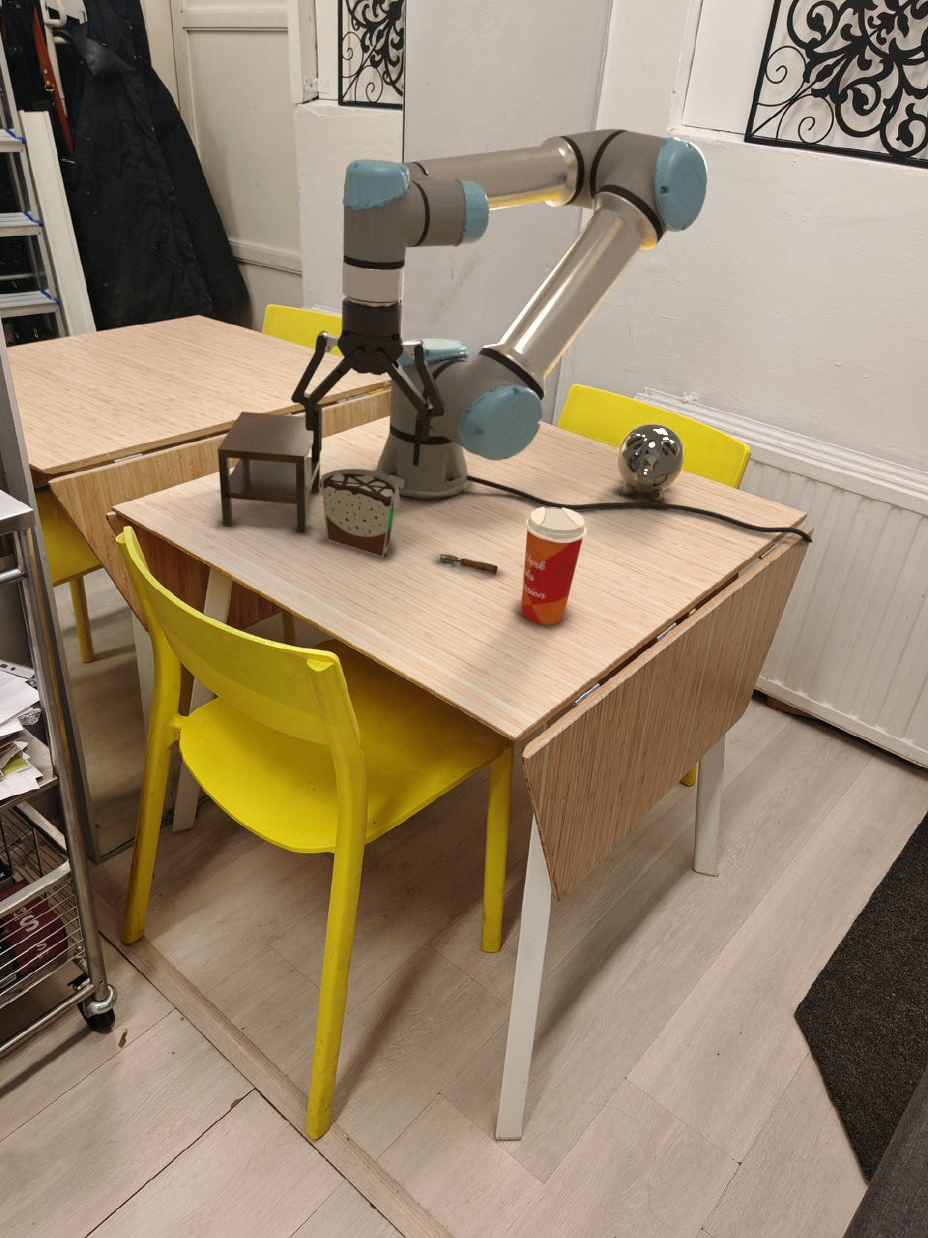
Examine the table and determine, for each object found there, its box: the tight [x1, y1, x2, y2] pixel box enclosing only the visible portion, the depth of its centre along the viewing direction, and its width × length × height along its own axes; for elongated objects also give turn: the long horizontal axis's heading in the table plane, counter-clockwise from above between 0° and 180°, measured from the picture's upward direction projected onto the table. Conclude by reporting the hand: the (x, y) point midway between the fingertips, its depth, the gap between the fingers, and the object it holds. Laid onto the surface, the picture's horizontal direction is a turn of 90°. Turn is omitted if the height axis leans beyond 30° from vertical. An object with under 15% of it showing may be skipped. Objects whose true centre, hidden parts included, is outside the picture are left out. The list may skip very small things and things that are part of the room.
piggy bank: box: [616, 423, 686, 502], centre depth 151 cm, size 11×15×12 cm
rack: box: [217, 411, 321, 534], centre depth 134 cm, size 12×15×12 cm
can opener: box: [437, 553, 499, 574], centre depth 127 cm, size 9×2×1 cm, turn 65°
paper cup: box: [521, 506, 588, 626], centre depth 115 cm, size 8×8×14 cm
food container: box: [318, 468, 401, 559], centre depth 128 cm, size 12×6×10 cm, turn 65°
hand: (366, 457), depth 124 cm, fingers open, 13 cm apart
